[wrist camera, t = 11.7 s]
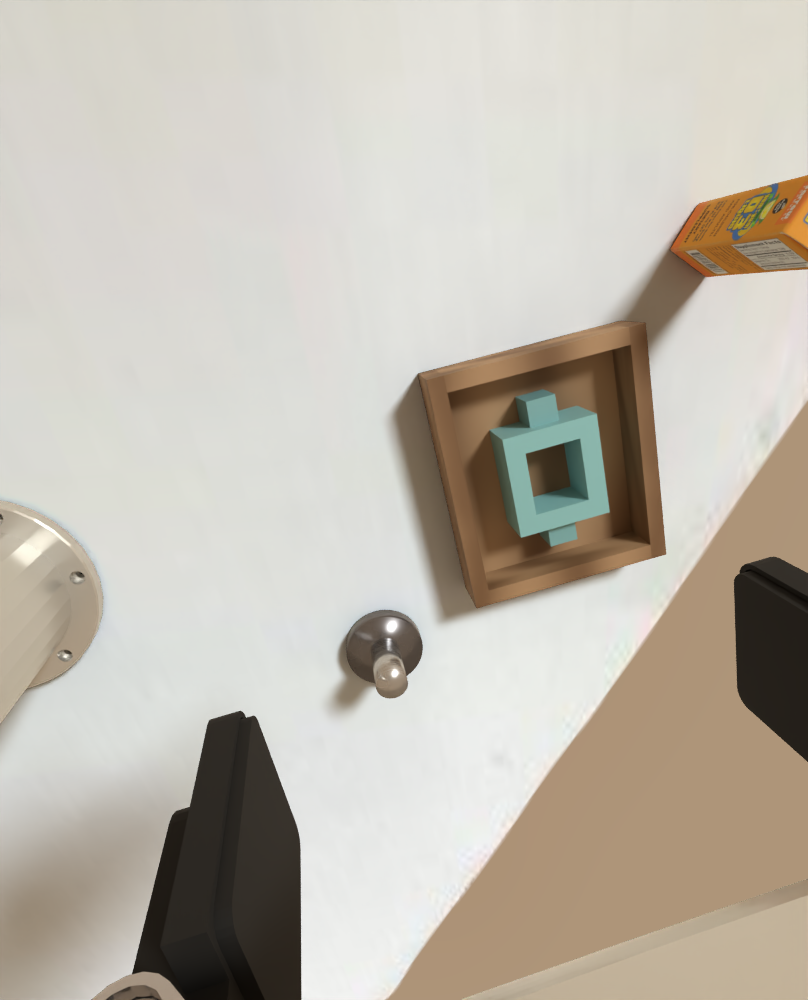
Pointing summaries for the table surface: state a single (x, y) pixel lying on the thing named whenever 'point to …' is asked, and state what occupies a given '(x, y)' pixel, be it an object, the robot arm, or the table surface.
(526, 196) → the table surface
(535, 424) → the teal tabbed square frame
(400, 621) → the grey metallic peg stand
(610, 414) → the tray
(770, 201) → the supplement box
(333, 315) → the table surface
